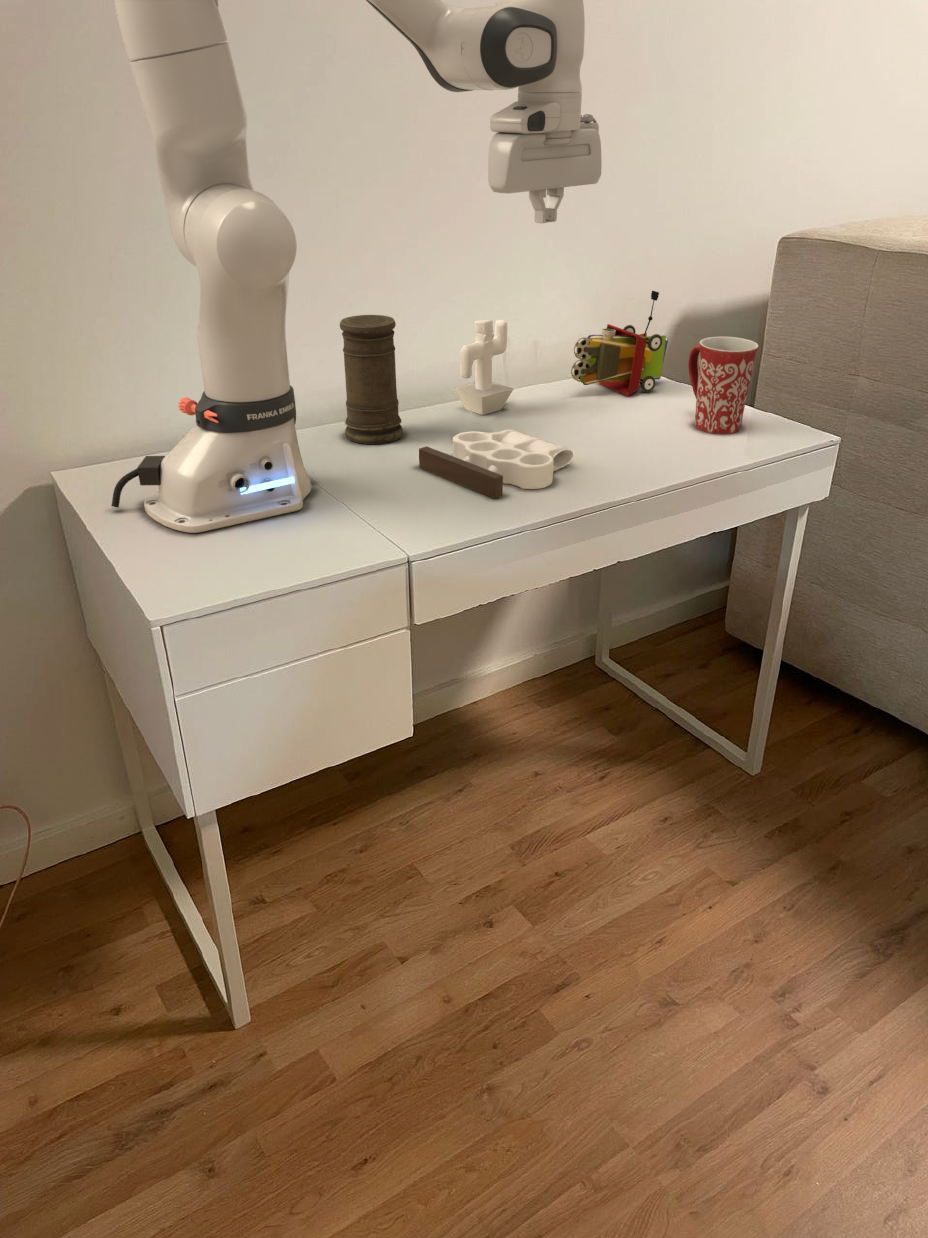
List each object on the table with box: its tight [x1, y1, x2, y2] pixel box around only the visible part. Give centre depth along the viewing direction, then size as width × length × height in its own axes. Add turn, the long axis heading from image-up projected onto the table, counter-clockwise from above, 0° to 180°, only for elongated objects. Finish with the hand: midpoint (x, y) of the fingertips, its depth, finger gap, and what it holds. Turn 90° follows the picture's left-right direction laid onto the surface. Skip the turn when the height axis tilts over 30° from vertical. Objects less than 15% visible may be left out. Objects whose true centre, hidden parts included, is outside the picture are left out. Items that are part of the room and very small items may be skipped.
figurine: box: [453, 318, 514, 416], centre depth 162 cm, size 7×9×15 cm
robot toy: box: [570, 290, 669, 397], centre depth 172 cm, size 17×9×20 cm
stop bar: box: [418, 445, 504, 500], centre depth 136 cm, size 2×16×3 cm, turn 42°
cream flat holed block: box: [452, 428, 574, 490], centre depth 141 cm, size 3×18×15 cm
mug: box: [687, 336, 760, 435], centre depth 155 cm, size 13×9×14 cm
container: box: [339, 314, 404, 445], centre depth 150 cm, size 9×9×18 cm
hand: (545, 222), depth 142 cm, fingers closed
